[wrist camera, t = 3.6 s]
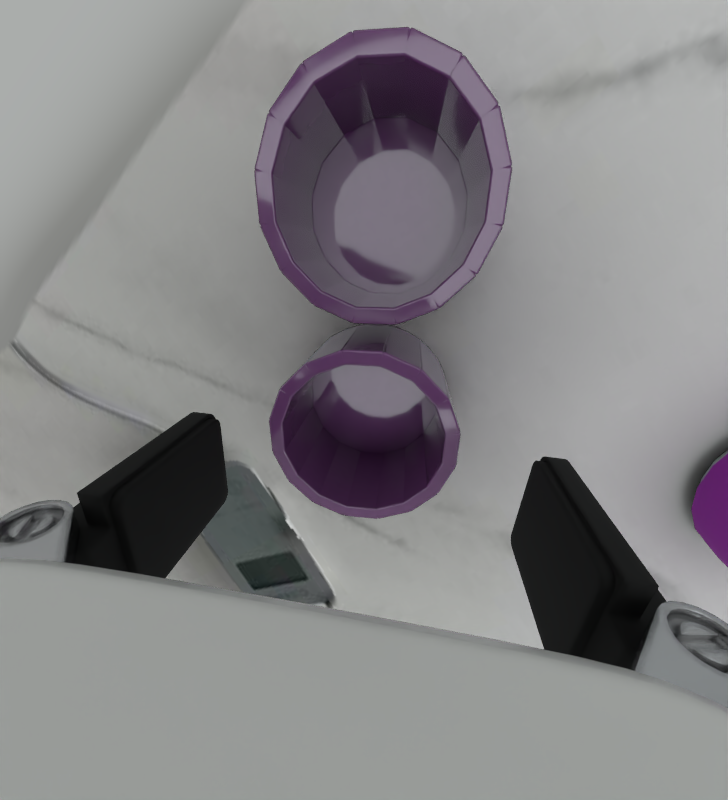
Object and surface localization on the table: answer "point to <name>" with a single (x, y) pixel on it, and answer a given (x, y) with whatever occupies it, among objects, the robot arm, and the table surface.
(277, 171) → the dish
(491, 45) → the table surface
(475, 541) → the table surface
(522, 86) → the table surface
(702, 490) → the beverage can
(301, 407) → the dish middle
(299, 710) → the robot arm
